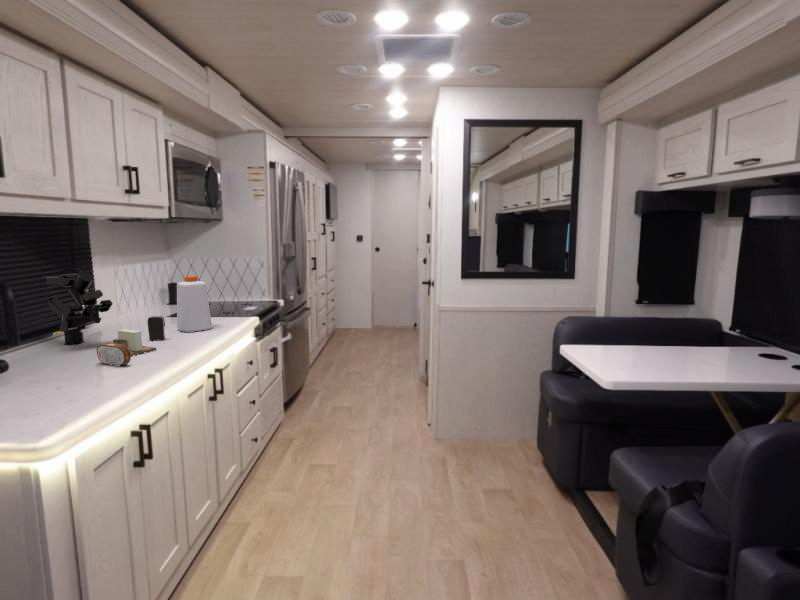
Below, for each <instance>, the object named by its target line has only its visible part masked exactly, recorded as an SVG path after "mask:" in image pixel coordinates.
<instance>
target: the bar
mask: <svg viewBox="0 0 800 600" xmlns="http://www.w3.org/2000/svg"><path fill="white" fill-rule="evenodd" d="M117 339H119V340H126V341H127V348H128V349H129V350H131V351H139V350H143V349H142V346H143V340H142V331H140V330H132V329H125V328H124V329H118V330H117Z"/></svg>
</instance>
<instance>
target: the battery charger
mask: <svg viewBox="0 0 800 600" xmlns="http://www.w3.org/2000/svg"><path fill="white" fill-rule="evenodd" d="M165 321H166V320H165V317H164V316H162V315H154V316H150V317H148V318H147V331H148V336H149V339H148V340H149V341H164V340H165V339H166V336H165V326H166V324H165V323H166V322H165Z"/></svg>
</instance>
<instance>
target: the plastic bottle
mask: <svg viewBox="0 0 800 600" xmlns="http://www.w3.org/2000/svg"><path fill="white" fill-rule="evenodd" d="M210 309H211V307H210V303H209V295H208V289H207V283H206V282H205V281H201V280H198V276H196V275H191V276H189V275H188V276H185V277H184V281H179V282H177V284H176V328H177V330H178V331H180V332H182V333H196V332H195V331H197V332H202V330H204V331H209V330H211V329H212V328H213V323H212V317H211V310H210ZM208 329H209V330H208Z"/></svg>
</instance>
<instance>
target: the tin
mask: <svg viewBox="0 0 800 600" xmlns="http://www.w3.org/2000/svg"><path fill="white" fill-rule="evenodd" d="M96 355H97V359H98V360H99V361H100V363H102V364H103V365H107V364H112V365H111V366H115V365H123V366H124V365H125V364H126V365H128V364H129V363H130V361H131V358H132V356H131V354H130V351H129V349H128V348H127V347H126V346H125V345H123V344H115V343H113V342H104V343H102V344H100V345H98V346H97V348H96Z"/></svg>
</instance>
